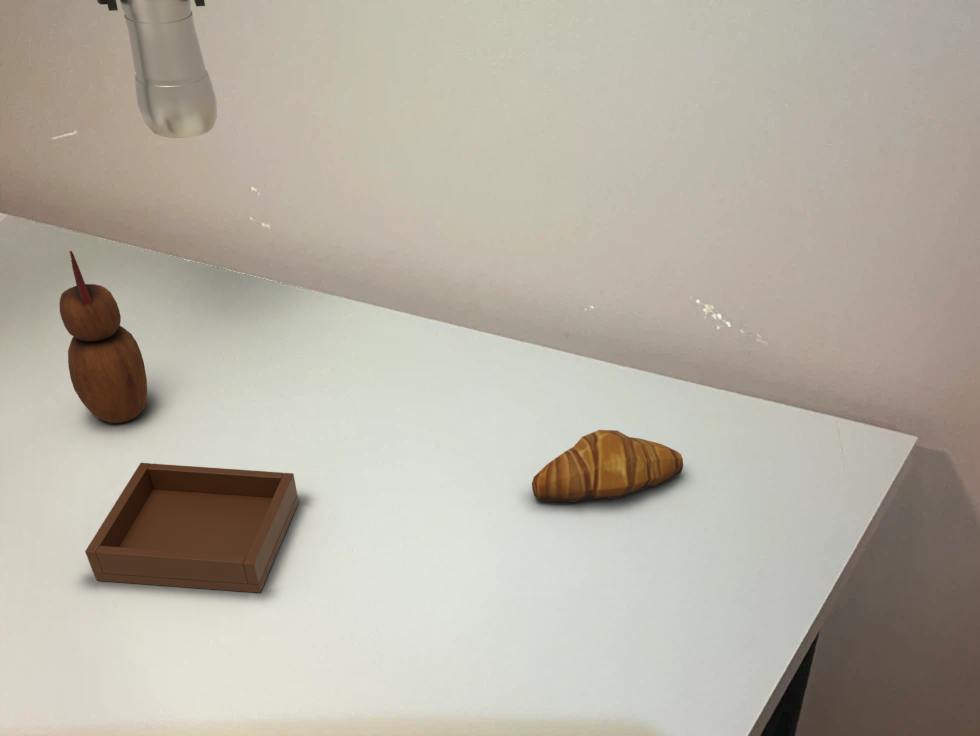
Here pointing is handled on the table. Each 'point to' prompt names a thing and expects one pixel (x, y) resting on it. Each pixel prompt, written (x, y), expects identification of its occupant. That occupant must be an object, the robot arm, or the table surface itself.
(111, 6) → the robot arm
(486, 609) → the table surface
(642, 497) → the table surface
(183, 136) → the silver bottle
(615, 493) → the croissant
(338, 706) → the table surface
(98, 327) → the wooden figurine
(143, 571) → the tray
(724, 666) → the table surface
